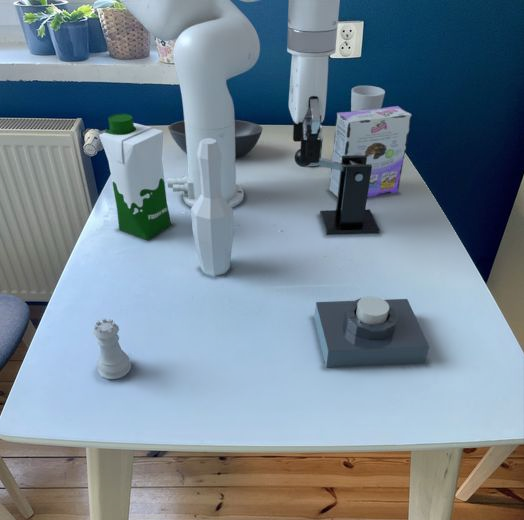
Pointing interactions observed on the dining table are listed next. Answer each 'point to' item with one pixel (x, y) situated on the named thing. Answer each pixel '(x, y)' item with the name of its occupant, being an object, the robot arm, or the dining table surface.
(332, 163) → the ball knob lever
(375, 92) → the cup
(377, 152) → the candy box
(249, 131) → the bowl
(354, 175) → the lever bracket
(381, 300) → the white push button
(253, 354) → the dining table surface
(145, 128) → the milk carton
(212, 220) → the low poly bottle
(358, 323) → the block
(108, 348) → the rook chess piece
